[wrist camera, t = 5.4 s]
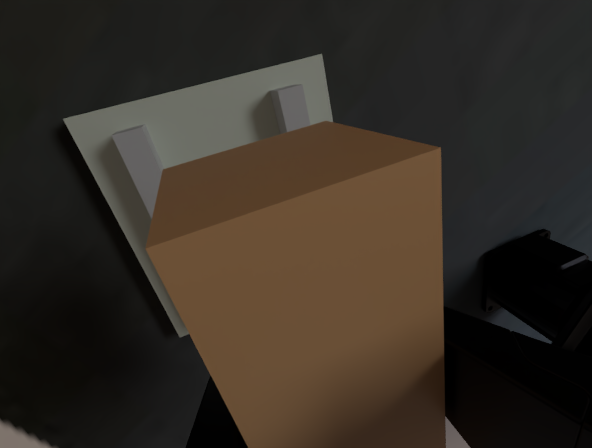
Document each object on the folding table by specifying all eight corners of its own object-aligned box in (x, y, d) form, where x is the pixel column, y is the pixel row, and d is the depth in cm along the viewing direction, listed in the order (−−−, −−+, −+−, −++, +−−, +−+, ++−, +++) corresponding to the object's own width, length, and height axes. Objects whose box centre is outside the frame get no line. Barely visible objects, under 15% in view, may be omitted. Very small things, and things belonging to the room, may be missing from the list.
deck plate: (349, 259, 22) (367, 278, 20) (179, 326, 20) (179, 355, 18) (314, 55, 17) (334, 50, 14) (70, 117, 14) (50, 122, 12)
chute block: (371, 382, 12) (446, 498, 9) (274, 429, 12) (314, 576, 8) (326, 120, 8) (441, 147, 4) (162, 169, 7) (144, 248, 4)
